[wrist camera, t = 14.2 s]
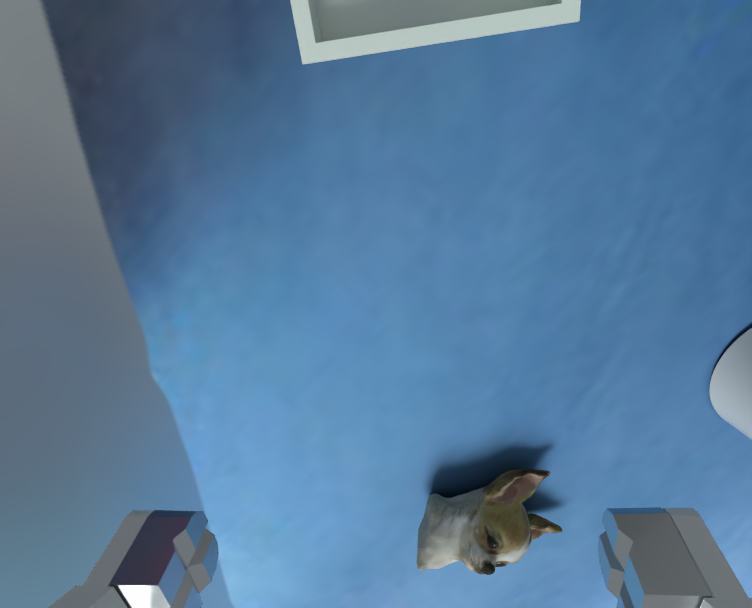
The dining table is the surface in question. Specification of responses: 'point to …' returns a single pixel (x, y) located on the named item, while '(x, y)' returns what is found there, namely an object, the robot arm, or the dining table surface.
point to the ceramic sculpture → (482, 524)
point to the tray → (414, 23)
